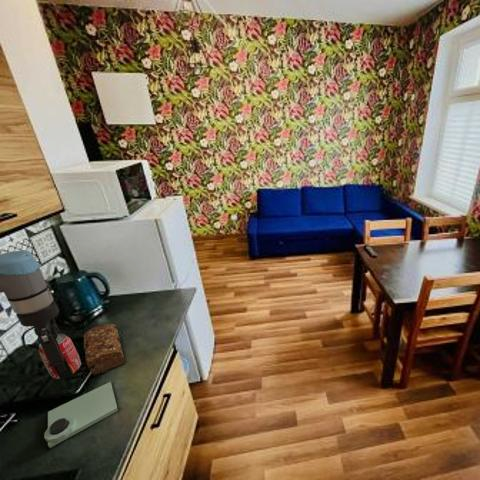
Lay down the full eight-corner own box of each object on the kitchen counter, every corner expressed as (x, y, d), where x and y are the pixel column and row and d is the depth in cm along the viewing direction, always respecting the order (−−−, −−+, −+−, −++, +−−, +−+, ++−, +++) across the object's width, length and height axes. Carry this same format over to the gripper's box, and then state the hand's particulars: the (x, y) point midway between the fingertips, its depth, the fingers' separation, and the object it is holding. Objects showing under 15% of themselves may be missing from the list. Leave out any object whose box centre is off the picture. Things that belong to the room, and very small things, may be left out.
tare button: (51, 437, 75) (49, 433, 75) (51, 427, 78) (49, 423, 77) (68, 428, 78) (66, 424, 77) (68, 419, 80) (66, 415, 79)
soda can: (46, 377, 79) (29, 346, 74) (73, 359, 85) (59, 329, 80) (61, 384, 77) (45, 353, 72) (88, 365, 83) (74, 335, 78)
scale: (48, 451, 75) (44, 444, 73) (48, 415, 84) (44, 409, 83) (118, 412, 85) (115, 406, 84) (111, 384, 94) (109, 378, 93)
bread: (90, 348, 109) (81, 329, 105) (121, 336, 115) (114, 318, 112) (91, 378, 96) (82, 358, 92) (127, 363, 102) (119, 343, 98)
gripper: (55, 318, 67) (85, 382, 76) (53, 286, 81) (79, 344, 89) (11, 332, 62) (49, 399, 71) (18, 296, 76) (49, 356, 85)
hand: (66, 368), depth 80 cm, fingers closed on soda can, 7 cm apart
